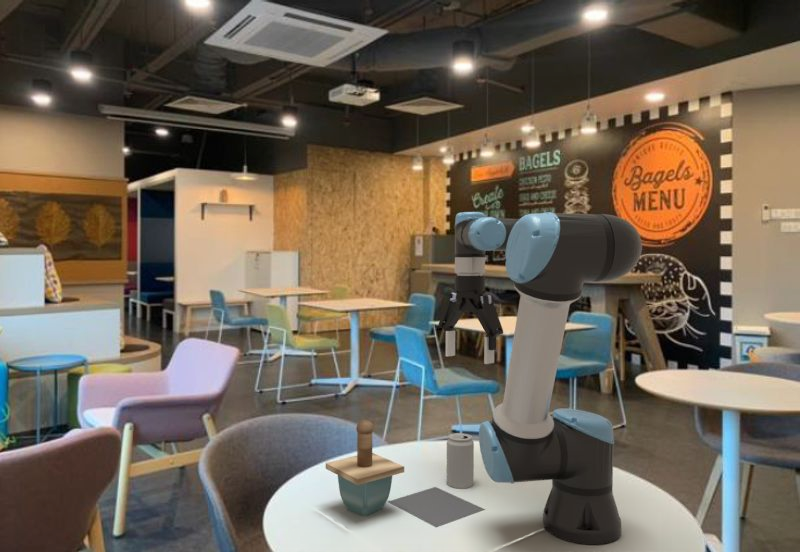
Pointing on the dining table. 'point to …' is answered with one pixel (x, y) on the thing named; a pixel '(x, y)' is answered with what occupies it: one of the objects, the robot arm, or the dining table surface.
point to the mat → (436, 506)
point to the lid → (364, 460)
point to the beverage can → (460, 461)
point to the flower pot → (365, 495)
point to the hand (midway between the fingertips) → (469, 359)
